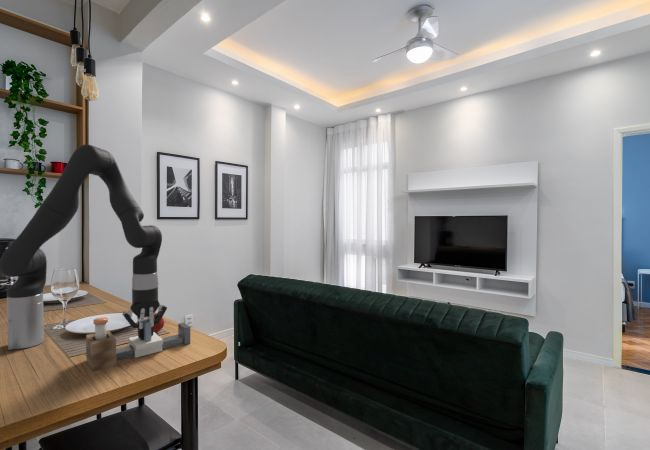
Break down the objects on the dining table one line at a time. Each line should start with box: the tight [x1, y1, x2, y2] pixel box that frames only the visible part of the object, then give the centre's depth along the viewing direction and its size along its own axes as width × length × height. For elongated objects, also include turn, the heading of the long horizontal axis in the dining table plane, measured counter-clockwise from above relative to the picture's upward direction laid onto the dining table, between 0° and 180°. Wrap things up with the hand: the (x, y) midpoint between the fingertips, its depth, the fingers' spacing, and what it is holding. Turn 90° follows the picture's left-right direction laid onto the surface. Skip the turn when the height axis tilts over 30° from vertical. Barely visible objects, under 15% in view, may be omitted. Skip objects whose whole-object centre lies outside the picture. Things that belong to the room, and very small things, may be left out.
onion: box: [153, 312, 165, 335], centre depth 126 cm, size 6×6×8 cm
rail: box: [116, 322, 191, 363], centre depth 112 cm, size 23×6×6 cm, turn 134°
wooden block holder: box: [85, 330, 117, 373], centre depth 102 cm, size 6×10×8 cm, turn 44°
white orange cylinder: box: [93, 317, 109, 340], centre depth 101 cm, size 4×4×8 cm
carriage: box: [128, 317, 163, 359], centre depth 110 cm, size 8×9×10 cm
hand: (145, 338), depth 110 cm, fingers closed on carriage
